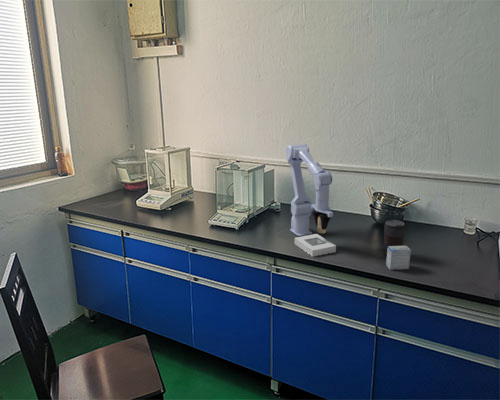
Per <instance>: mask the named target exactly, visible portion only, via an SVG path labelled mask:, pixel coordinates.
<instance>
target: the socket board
mask: <svg viewBox="0 0 500 400" xmlns="http://www.w3.org/2000/svg"><path fill="white" fill-rule="evenodd" d="M294 245H295V246H297V247H298V248H300V249H301V250H302V249H303V250H302V251H304V252H305V253H306V252H307V253H306V254H308V255H309V254H310V255H311V257H312V258H314V257H318V255H319V256H322V255H323V254H324V255H328V253H329V254H332V253H336V252H337V246H336V244H334V243H332V242H330V241H329V240H328V239H325V238H324V237H323V236H322V235H320V234H319V233H312V234H308V235H302V236H297V237H294ZM313 256H314V257H313Z"/></svg>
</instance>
